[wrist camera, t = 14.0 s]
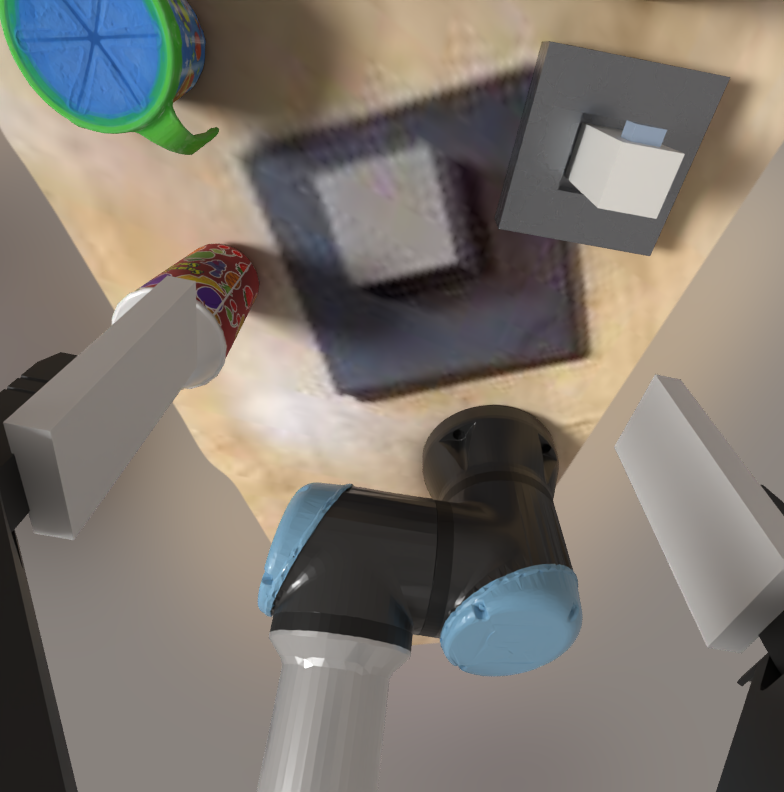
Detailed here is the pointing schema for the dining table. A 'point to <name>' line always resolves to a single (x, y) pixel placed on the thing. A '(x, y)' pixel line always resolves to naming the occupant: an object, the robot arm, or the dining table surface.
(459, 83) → the dining table surface
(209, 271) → the smoothie
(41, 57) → the snack cup
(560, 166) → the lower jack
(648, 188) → the plug
